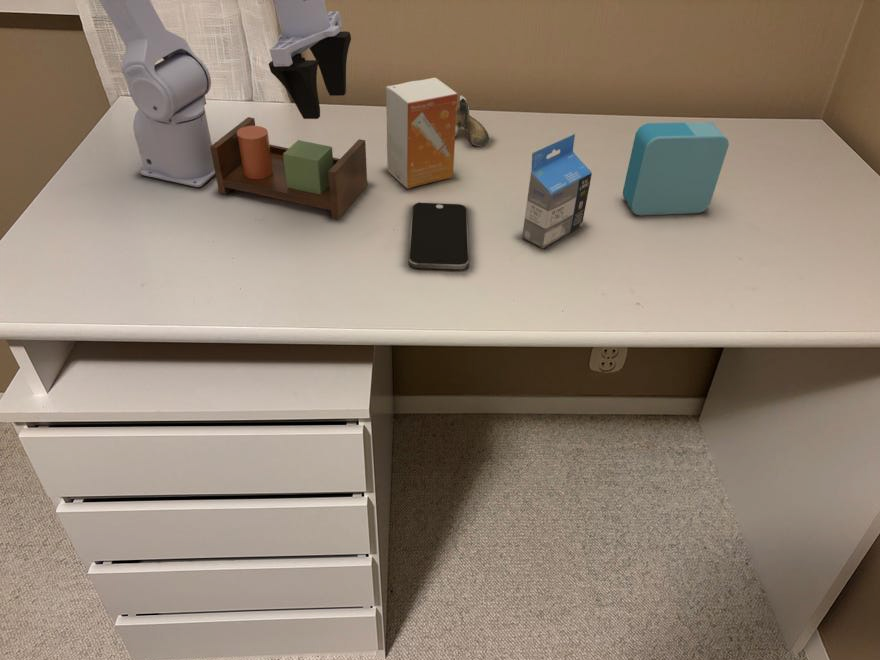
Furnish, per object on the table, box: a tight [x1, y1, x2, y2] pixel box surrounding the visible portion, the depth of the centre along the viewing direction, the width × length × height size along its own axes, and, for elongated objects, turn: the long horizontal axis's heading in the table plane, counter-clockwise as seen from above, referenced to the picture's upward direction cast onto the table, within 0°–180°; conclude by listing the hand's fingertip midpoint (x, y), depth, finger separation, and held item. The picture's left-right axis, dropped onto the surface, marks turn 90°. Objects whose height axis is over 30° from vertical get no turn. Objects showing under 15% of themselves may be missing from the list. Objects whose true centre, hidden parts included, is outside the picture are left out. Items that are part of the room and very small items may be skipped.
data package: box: [622, 121, 730, 216], centre depth 102 cm, size 12×4×12 cm, turn 100°
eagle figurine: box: [455, 95, 490, 148], centre depth 117 cm, size 8×7×9 cm
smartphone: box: [408, 202, 470, 270], centre depth 96 cm, size 8×1×15 cm
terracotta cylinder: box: [237, 125, 273, 180], centre depth 99 cm, size 4×4×6 cm
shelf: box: [210, 116, 368, 220], centre depth 101 cm, size 10×18×7 cm, turn 74°
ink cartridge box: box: [521, 133, 593, 249], centre depth 95 cm, size 9×4×12 cm, turn 137°
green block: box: [283, 139, 334, 195], centre depth 98 cm, size 5×4×5 cm
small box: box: [385, 77, 458, 190], centre depth 104 cm, size 8×6×13 cm
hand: (325, 106), depth 92 cm, fingers open, 7 cm apart
